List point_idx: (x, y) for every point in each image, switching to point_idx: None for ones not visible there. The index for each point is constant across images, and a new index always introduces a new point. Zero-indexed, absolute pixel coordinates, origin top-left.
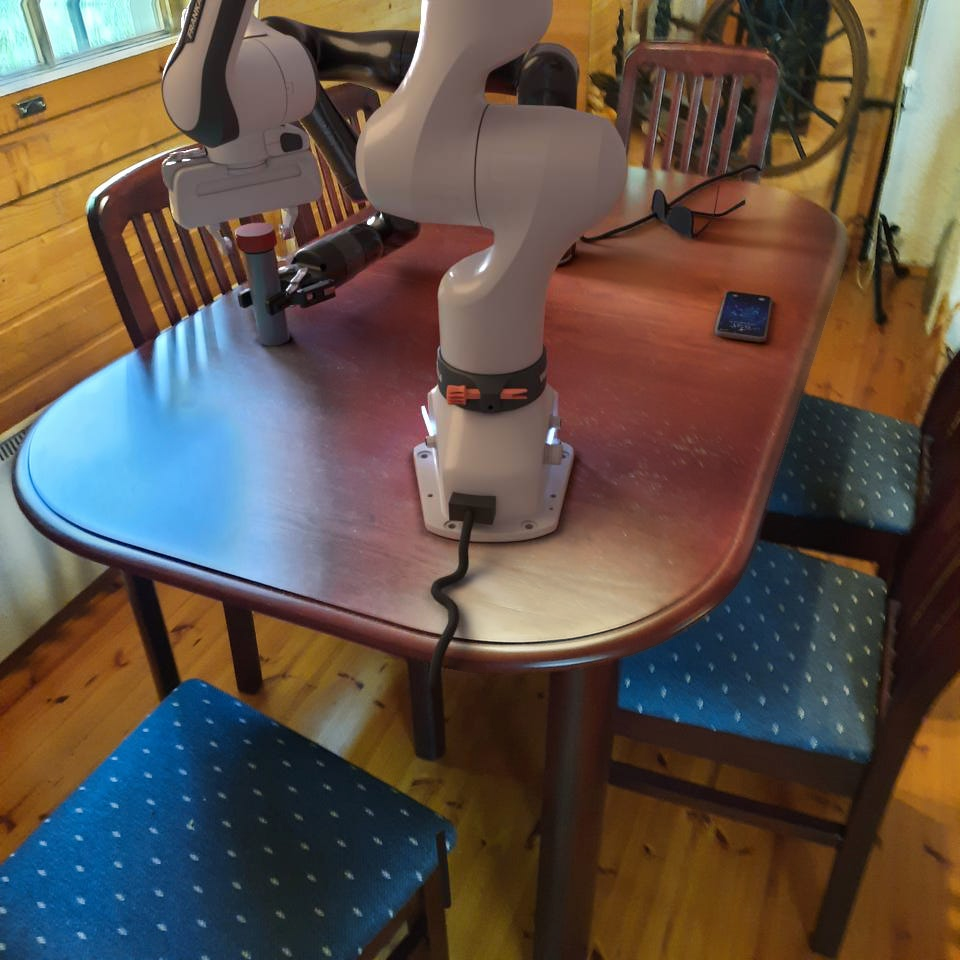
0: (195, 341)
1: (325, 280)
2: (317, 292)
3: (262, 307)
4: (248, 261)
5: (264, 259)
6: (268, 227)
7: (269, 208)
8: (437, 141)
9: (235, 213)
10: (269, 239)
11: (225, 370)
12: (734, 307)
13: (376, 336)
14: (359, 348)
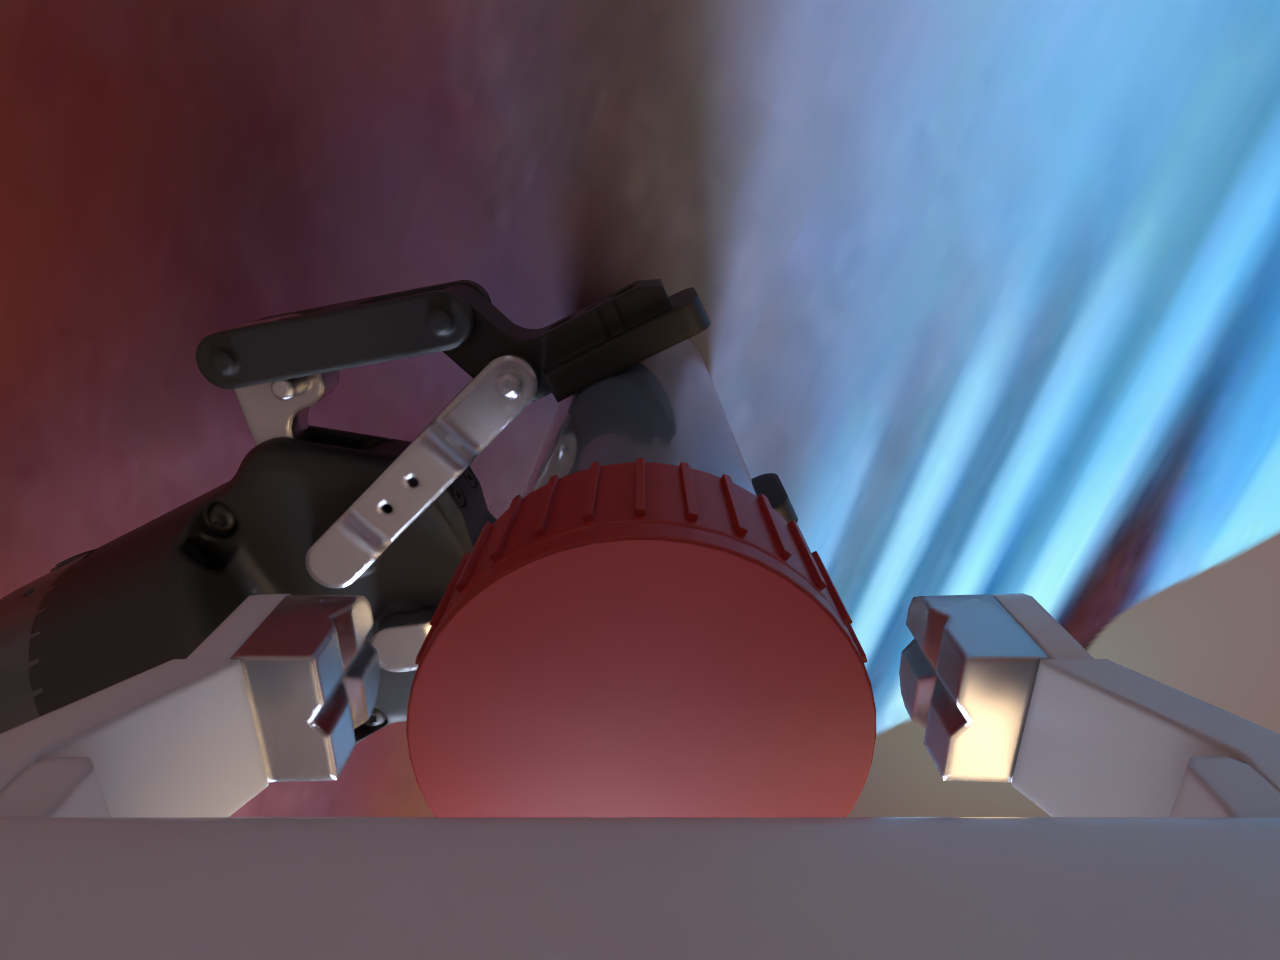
0: (919, 560)
1: (249, 383)
2: (349, 305)
3: (701, 382)
4: None
5: (648, 454)
6: (471, 717)
7: (336, 853)
8: None
9: (1092, 890)
10: (549, 516)
11: (951, 230)
12: None
13: (193, 107)
14: (316, 30)
